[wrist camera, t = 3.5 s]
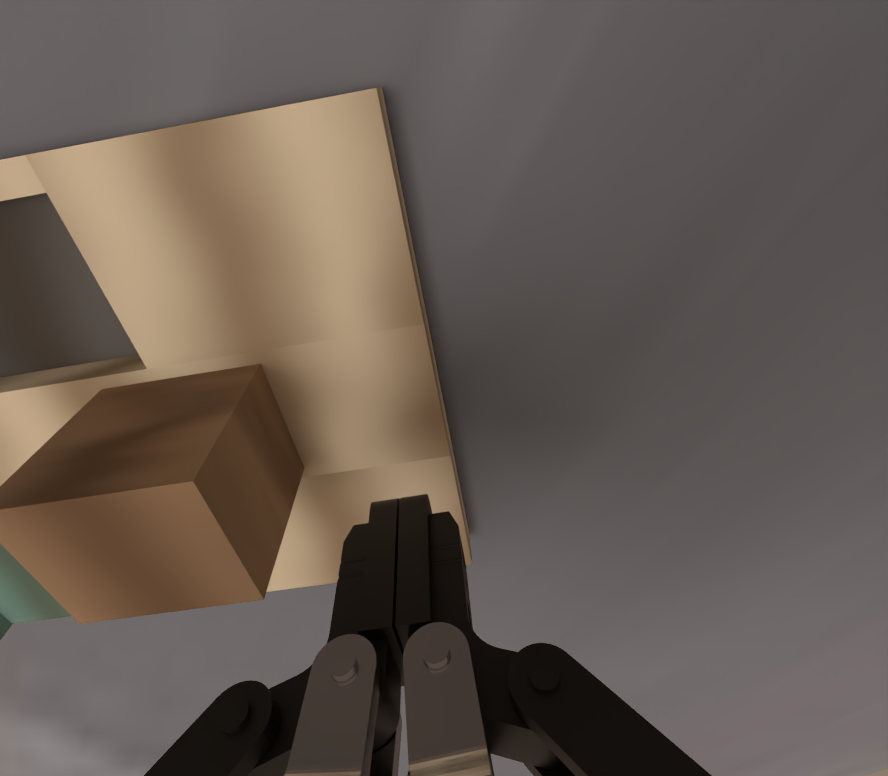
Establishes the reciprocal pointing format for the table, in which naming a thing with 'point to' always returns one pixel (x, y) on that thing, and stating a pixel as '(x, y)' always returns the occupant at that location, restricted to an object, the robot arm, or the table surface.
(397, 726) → the robot arm
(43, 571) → the walnut block
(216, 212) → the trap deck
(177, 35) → the table surface
